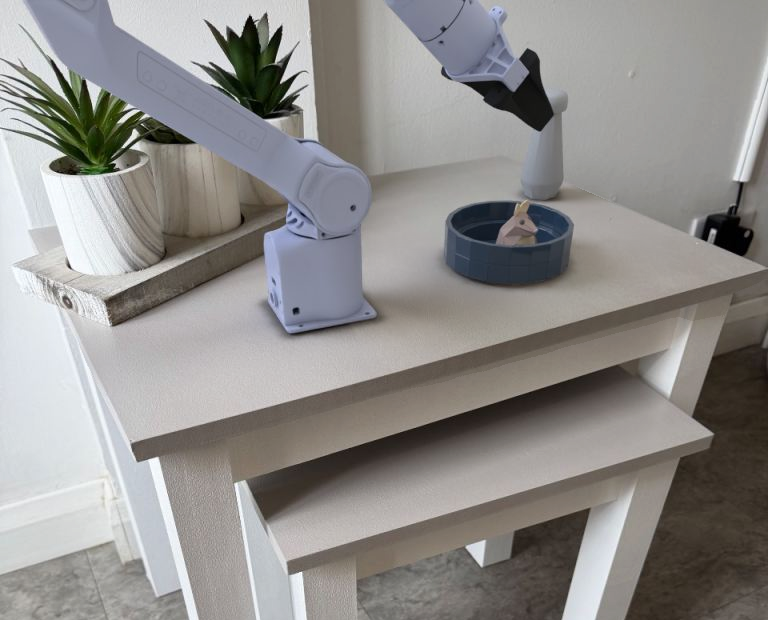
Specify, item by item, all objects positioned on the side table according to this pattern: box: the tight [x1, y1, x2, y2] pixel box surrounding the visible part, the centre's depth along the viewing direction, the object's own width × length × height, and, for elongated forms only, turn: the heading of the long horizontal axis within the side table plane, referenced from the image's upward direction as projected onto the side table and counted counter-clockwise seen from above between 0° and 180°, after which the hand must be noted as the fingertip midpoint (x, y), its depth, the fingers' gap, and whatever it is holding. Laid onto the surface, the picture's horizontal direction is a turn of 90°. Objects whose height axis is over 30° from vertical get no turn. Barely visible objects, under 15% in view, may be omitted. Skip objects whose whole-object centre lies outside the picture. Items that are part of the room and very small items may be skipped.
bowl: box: [443, 199, 575, 285], centre depth 90 cm, size 14×14×4 cm
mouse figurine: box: [496, 199, 538, 245], centre depth 89 cm, size 5×8×7 cm, turn 43°
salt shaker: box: [519, 87, 569, 201], centre depth 104 cm, size 6×6×13 cm
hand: (525, 110), depth 79 cm, fingers open, 7 cm apart
